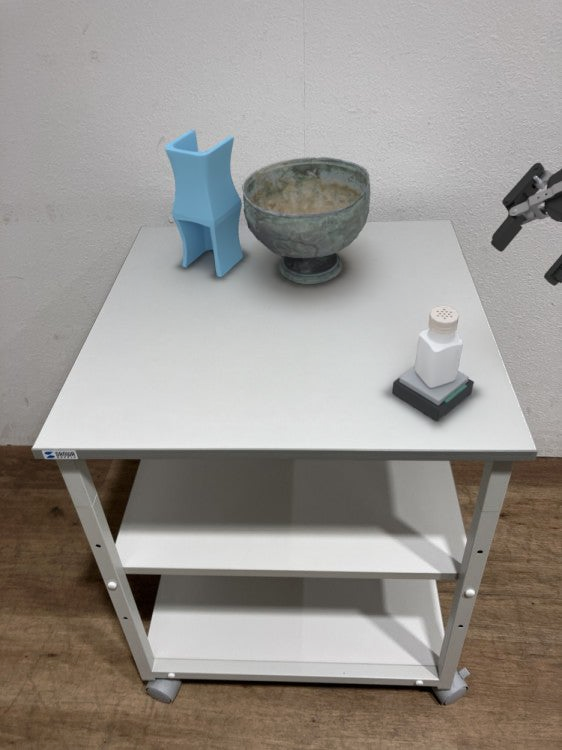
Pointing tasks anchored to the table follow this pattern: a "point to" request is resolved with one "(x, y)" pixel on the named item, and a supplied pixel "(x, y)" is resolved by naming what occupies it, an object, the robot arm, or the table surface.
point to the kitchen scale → (432, 393)
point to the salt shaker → (439, 348)
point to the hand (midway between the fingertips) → (521, 264)
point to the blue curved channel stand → (205, 201)
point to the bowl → (307, 213)
